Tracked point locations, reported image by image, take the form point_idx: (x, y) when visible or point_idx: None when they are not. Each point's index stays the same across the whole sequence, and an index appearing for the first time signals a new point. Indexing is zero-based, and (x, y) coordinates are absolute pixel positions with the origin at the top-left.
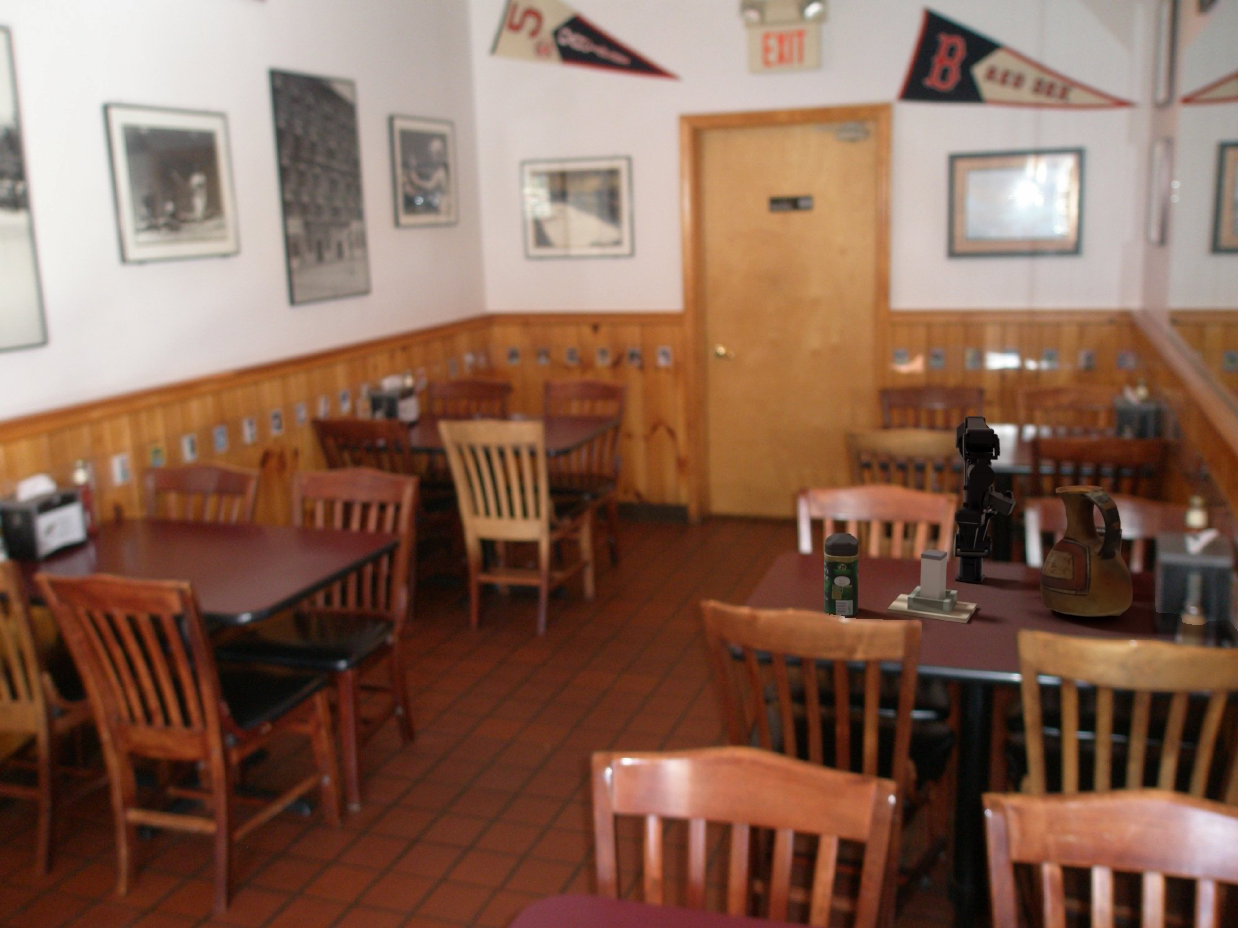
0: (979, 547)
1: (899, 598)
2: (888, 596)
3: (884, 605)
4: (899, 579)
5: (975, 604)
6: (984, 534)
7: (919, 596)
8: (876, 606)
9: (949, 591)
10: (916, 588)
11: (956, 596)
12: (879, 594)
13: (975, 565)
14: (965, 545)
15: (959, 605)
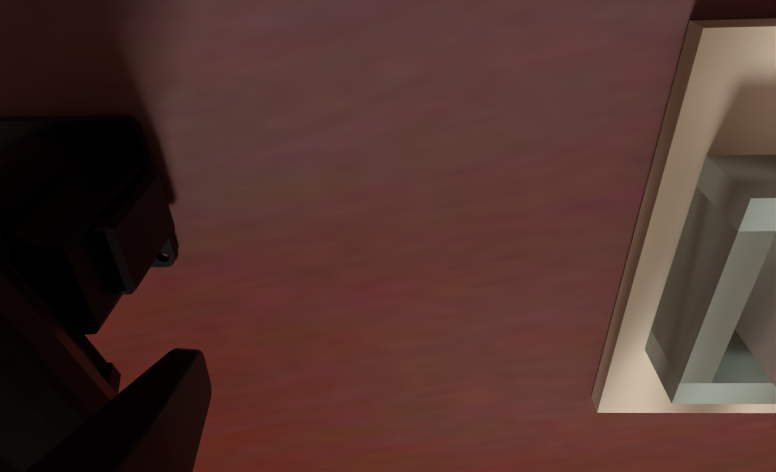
0: (9, 297)
1: (675, 404)
2: (582, 433)
3: (723, 421)
4: (311, 445)
5: (725, 33)
6: (147, 427)
7: (735, 351)
8: (743, 440)
9: (770, 240)
10: (730, 399)
11: (764, 180)
12: (564, 460)
13: (79, 215)
14: (91, 408)
15: (766, 130)
